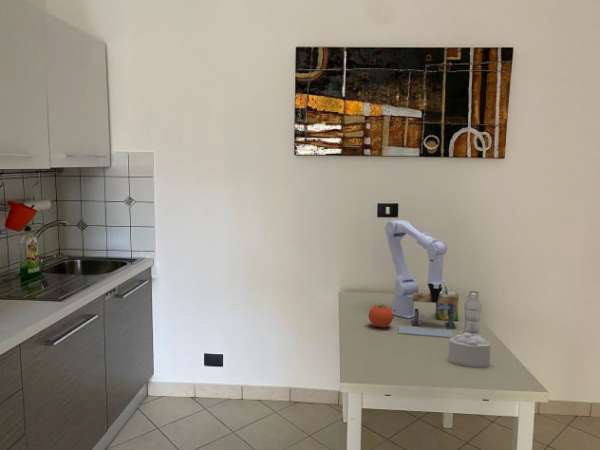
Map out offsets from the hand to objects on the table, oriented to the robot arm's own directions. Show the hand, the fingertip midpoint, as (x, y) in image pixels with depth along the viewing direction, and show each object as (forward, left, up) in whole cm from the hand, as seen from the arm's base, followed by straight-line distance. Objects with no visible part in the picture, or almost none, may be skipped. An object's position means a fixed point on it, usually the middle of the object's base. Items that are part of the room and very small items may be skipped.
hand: (434, 301), depth 204 cm
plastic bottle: (+21, -11, -11) cm, 26 cm away
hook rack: (0, 0, -10) cm, 10 cm away
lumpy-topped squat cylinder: (+27, -29, -11) cm, 41 cm away
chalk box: (-1, +15, -11) cm, 18 cm away
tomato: (-15, -18, -11) cm, 26 cm away
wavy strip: (0, 0, 0) cm, 0 cm away
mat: (+2, -12, -10) cm, 16 cm away
